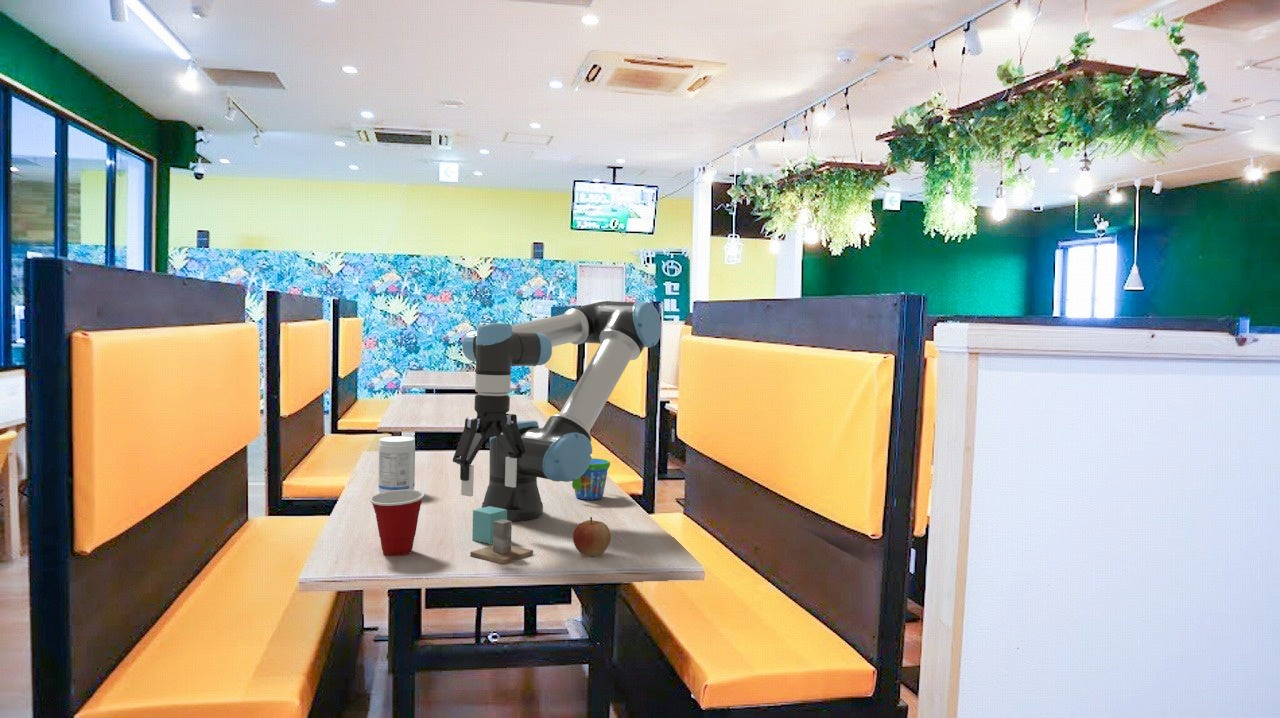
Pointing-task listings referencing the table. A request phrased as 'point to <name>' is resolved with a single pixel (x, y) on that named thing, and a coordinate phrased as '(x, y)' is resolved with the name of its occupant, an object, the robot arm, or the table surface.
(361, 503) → the table surface
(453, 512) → the table surface
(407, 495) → the plastic cup
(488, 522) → the teal rectangular block
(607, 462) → the snack cup
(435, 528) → the table surface
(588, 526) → the apple
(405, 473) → the supplement tub
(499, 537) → the peg stand
